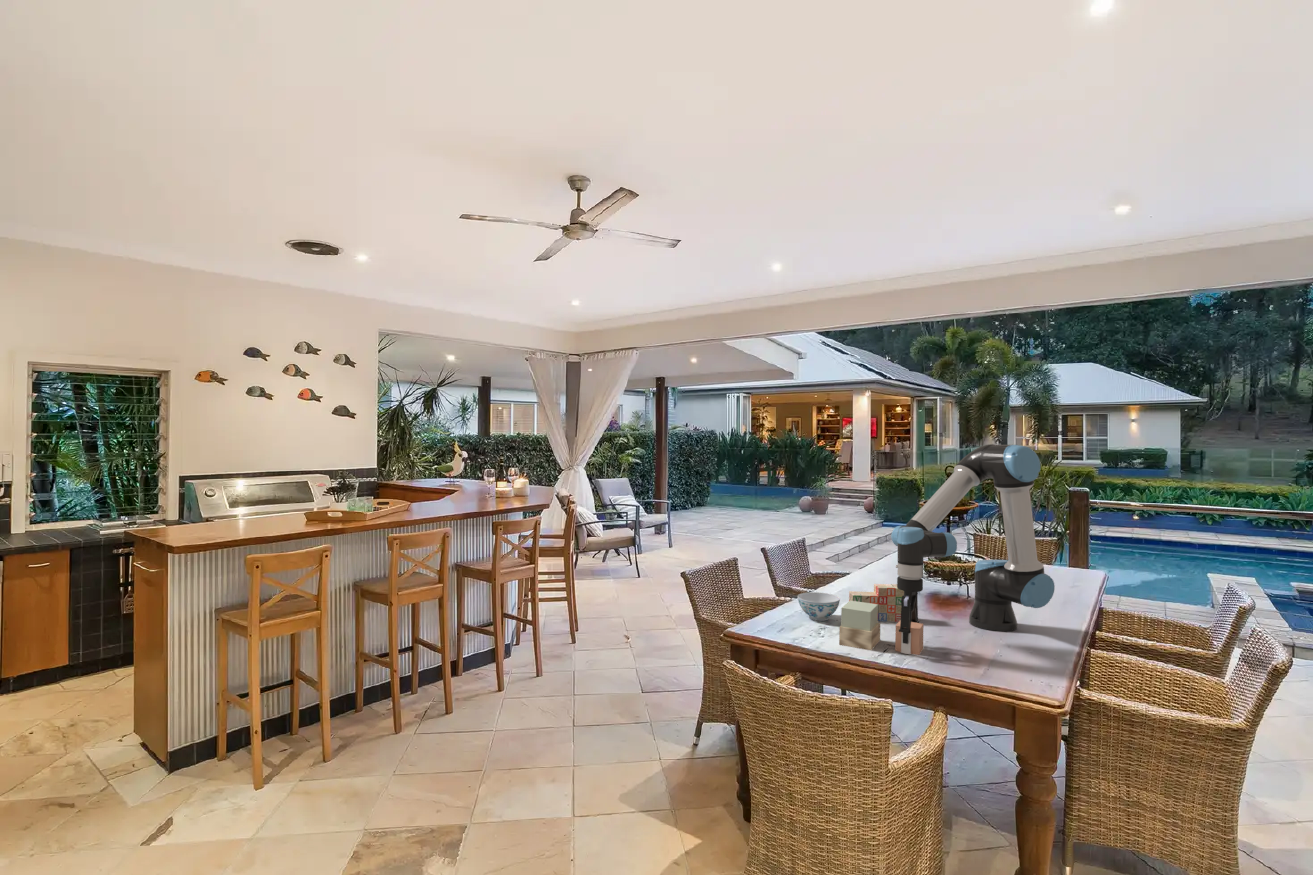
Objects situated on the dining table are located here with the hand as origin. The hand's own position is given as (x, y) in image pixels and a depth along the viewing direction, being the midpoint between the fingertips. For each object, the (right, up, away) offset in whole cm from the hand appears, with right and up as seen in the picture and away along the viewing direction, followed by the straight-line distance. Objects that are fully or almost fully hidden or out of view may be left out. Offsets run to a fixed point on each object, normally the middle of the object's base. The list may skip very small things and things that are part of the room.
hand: (908, 649), depth 206 cm
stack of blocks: (+3, 0, +34) cm, 34 cm away
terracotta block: (0, 0, 0) cm, 0 cm away
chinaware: (-20, 0, +34) cm, 40 cm away
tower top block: (-13, +6, +7) cm, 16 cm away
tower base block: (-13, 0, +7) cm, 15 cm away
